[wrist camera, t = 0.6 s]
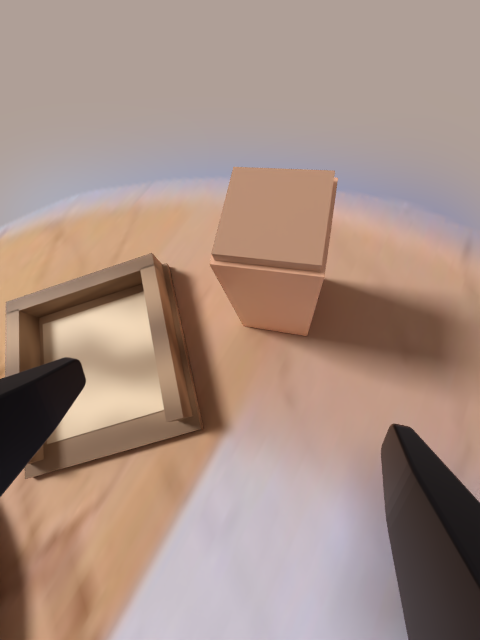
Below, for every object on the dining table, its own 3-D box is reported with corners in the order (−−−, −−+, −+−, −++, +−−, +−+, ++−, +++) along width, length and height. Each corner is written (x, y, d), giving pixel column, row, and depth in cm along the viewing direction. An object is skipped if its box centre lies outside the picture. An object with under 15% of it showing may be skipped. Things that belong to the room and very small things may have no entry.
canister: (307, 336, 21) (326, 270, 11) (243, 326, 22) (205, 257, 12) (315, 276, 23) (340, 167, 12) (255, 269, 24) (230, 163, 13)
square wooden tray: (203, 428, 21) (192, 431, 18) (31, 477, 22) (-2, 486, 19) (169, 266, 25) (156, 251, 23) (28, 313, 26) (1, 303, 24)
